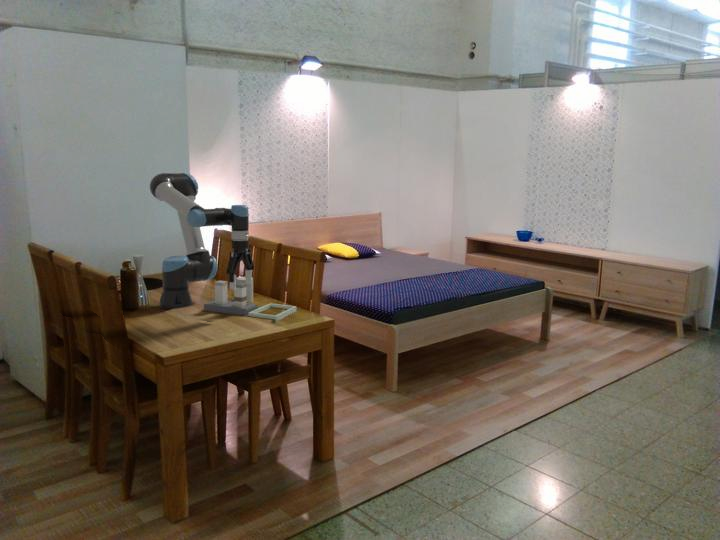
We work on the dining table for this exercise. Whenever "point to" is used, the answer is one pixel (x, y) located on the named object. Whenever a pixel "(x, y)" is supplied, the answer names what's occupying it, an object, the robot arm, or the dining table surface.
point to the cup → (247, 288)
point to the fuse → (221, 292)
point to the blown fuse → (240, 295)
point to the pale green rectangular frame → (276, 317)
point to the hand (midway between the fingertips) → (240, 286)
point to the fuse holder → (229, 308)
